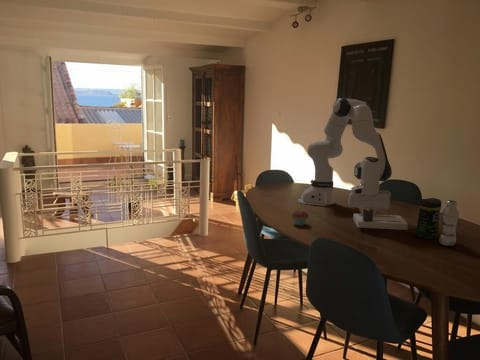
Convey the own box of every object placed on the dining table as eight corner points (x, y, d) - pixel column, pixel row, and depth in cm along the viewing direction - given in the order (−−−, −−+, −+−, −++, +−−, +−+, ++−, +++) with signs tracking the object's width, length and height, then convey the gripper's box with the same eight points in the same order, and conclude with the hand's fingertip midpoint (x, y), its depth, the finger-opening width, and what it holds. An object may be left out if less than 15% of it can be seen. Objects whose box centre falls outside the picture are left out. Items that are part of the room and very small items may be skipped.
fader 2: (364, 220, 200) (364, 211, 199) (362, 218, 205) (363, 208, 204) (372, 221, 199) (373, 211, 198) (370, 218, 204) (371, 208, 203)
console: (357, 227, 200) (358, 221, 199) (353, 218, 215) (353, 213, 215) (407, 229, 197) (408, 223, 196) (399, 221, 212) (399, 215, 212)
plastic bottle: (435, 243, 178) (440, 199, 174) (449, 242, 178) (454, 199, 175) (443, 248, 171) (448, 202, 168) (458, 247, 172) (464, 202, 168)
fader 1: (363, 216, 208) (363, 206, 208) (361, 213, 213) (362, 204, 212) (370, 216, 208) (371, 207, 207) (369, 214, 213) (369, 204, 212)
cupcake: (309, 223, 206) (310, 200, 204) (306, 227, 198) (307, 204, 196) (292, 221, 209) (293, 199, 207) (289, 225, 201) (290, 202, 199)
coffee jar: (427, 240, 180) (431, 201, 177) (412, 236, 187) (416, 197, 184) (441, 238, 185) (445, 199, 182) (426, 233, 192) (430, 195, 188)
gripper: (389, 189, 201) (387, 215, 203) (348, 187, 204) (346, 213, 206) (392, 191, 195) (390, 218, 197) (349, 190, 197) (348, 216, 200)
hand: (367, 216), depth 202 cm, fingers closed on fader 2, 4 cm apart
